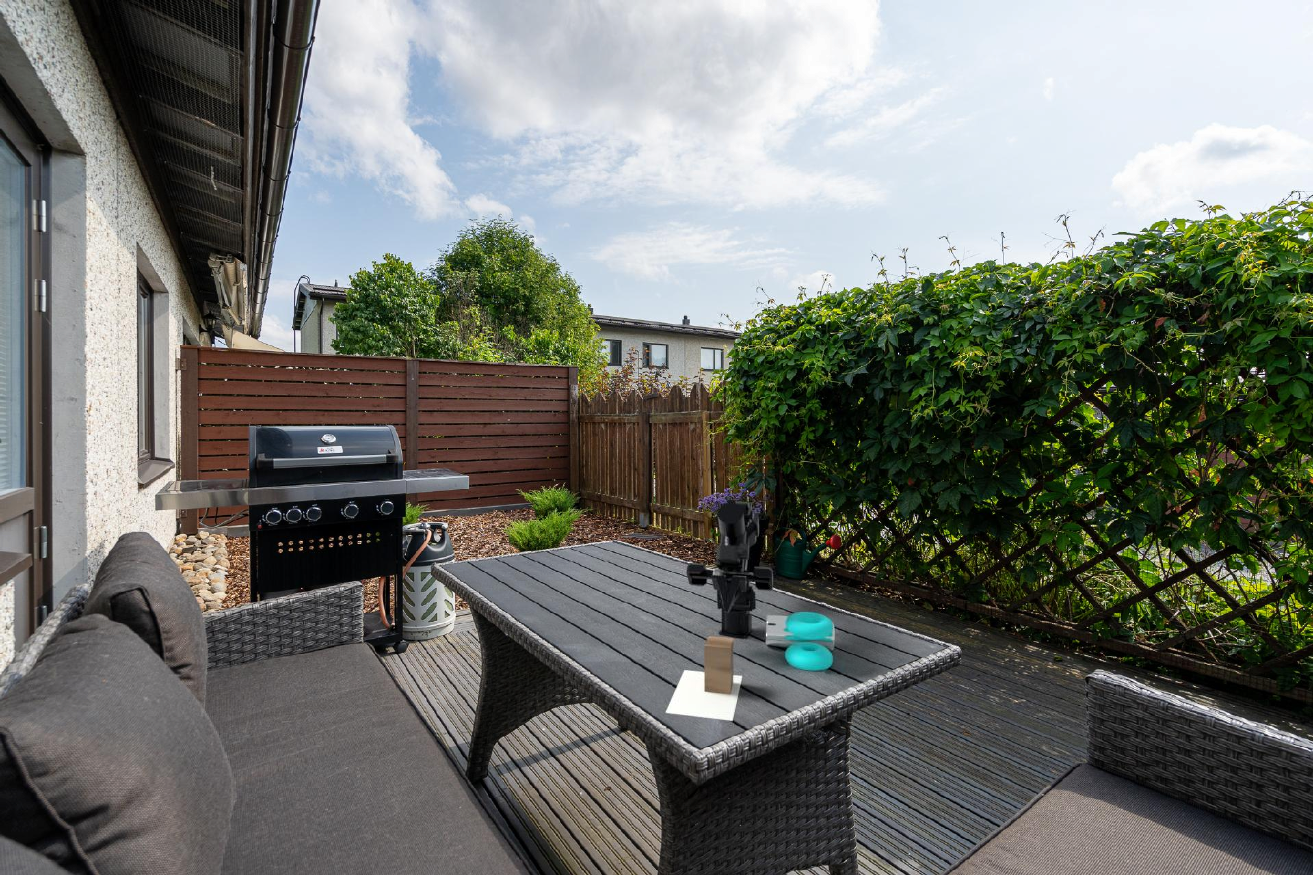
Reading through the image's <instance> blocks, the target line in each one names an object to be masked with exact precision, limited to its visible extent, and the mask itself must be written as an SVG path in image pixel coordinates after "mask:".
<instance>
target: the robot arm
mask: <svg viewBox="0 0 1313 875" xmlns="http://www.w3.org/2000/svg"><path fill="white" fill-rule="evenodd" d="M716 519H717V522H718V527H719V532H720V534H721V536H720V544H718V545H716V557H715V558H716V559H715V560H716V562H715V567H716V568H713V569H707V565H706V563H699V562H697V563H696V562H690V563H689V564H688V565H686V577H687V580H688V584H689V586H693V587H694V586H697V587H704V586H705V585H707V584H708V580H711V582H712V587H713V590H715V591H716V600H717V601H716V602H717V604H716V605H717V609H718V610H721V629H720V630H719V631H718V634H719V635H723V636H729V637H733V638H734V637H735V638H740V639H745V638H746V637H747V636H748V635H749V634H750V632H752V631H753V626H752V624H753V623H752V622H753V620H752V619H753V614H752V613H750V612H753V611H755V610H756V609H757V608H756V606H757V604H756V603H757V600H756V598H757V597H756V592H755V590H754V587H755V588H756V589H757V590H758V591H769V592H770V591H773V590H774V575H773V574H774V573H773V571H774V570H773V569H772V568H771V567H767V566H754V567H753V572H749V570H748V560H749V559H750V557H749V556H750V548H751V547H752V546H753V545H755V544H756V542H757V537H759V534H760V524H759V523H760V522H759V521H760V519H759V515H758V514H757V513H756V512H755V511H754V510H753V507H752V502H749V501H737V500H736V499H727V501H723V502H722V504H721V505H720V506H719V508H718V510H717V512H716ZM751 583H754V587H753V585H751Z"/></svg>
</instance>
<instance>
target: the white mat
mask: <svg viewBox="0 0 1313 875" xmlns="http://www.w3.org/2000/svg"><path fill="white" fill-rule="evenodd" d="M742 680H743V675H736V674H733V686H732V690H731V694H721V693H712V692H704V671H697V670H686V669H684V671H683V673H682V674H681V676H680V679H679V682H678V684H677V686H676V688H675V689H674V691H673V692H674V693H673V695H672V697H671V699H670V702H669V705H668V706H667V708H666V710H665V714H670V715H671V714H672V715H679V716H688V717H695V718H705V719H713V720H721V721H730V722H733V721H734V716H735V713H736V712H735V711H736V706H737V703H738V702H737V701H738V699H739V694H740V688H741V684H742Z"/></svg>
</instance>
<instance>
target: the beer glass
mask: <svg viewBox="0 0 1313 875" xmlns="http://www.w3.org/2000/svg"><path fill="white" fill-rule="evenodd" d="M788 616H789V615H781V614H780V615H776V614H775V615H767V614H766V618H765V619H766V620H765V621H766V622H765V645H767V646H773V647H779V648H786V649H787V648H788V647H789V646H791V645H793V644H795V643H800V642H811V643H816V644H819V645H822V646H824V647H825V648H827V649H828V650H829V651H830V650H831V651H833V650H834V648H835V637H836V636H835V635H836V634H835V632H836V631H835V624H834V623H835V622H833V621H832V623H833V631H832V633H831V634H830V635H829V636H827V637H825V638H822V639H816V640H811V639H803V638H800V637H797V636H795V635H793V634H792V633H790V632H789V631H788V629H787V628H786V624H785V622H786V619H787V617H788Z"/></svg>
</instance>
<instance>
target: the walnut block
mask: <svg viewBox="0 0 1313 875" xmlns="http://www.w3.org/2000/svg"><path fill="white" fill-rule="evenodd" d="M703 656H704V658H703V659H704V661H703V662H704V663H703V664H704V671H703V672H704V692H712V693H721V694H731V690H732V686H733V675H734V637H733V638H732V637H723V636H710V635H709V636H707V639H706V642H705V644H704V655H703Z"/></svg>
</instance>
